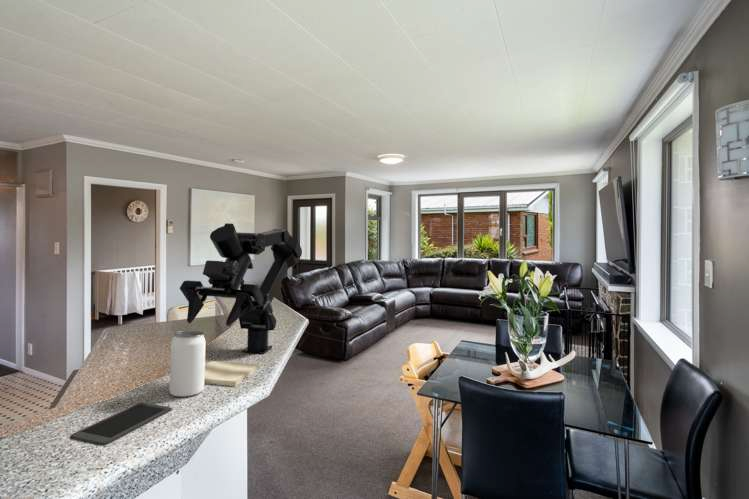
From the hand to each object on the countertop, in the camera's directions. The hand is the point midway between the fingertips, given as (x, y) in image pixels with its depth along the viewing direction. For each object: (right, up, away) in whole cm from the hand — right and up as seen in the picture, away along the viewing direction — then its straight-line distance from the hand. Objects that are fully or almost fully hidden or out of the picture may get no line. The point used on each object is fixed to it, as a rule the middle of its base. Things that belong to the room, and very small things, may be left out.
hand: (207, 323), depth 88 cm
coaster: (+2, -13, +4) cm, 13 cm away
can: (-1, -13, -7) cm, 15 cm away
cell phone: (-5, -13, -21) cm, 25 cm away
